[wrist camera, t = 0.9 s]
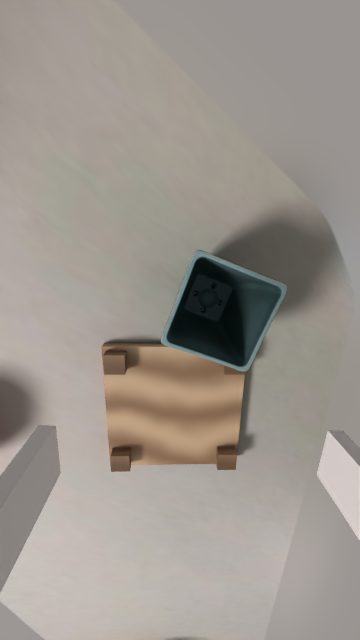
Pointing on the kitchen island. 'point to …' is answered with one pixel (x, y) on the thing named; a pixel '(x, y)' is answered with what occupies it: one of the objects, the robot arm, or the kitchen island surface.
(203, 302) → the flower pot
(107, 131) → the kitchen island surface
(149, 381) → the trivet
